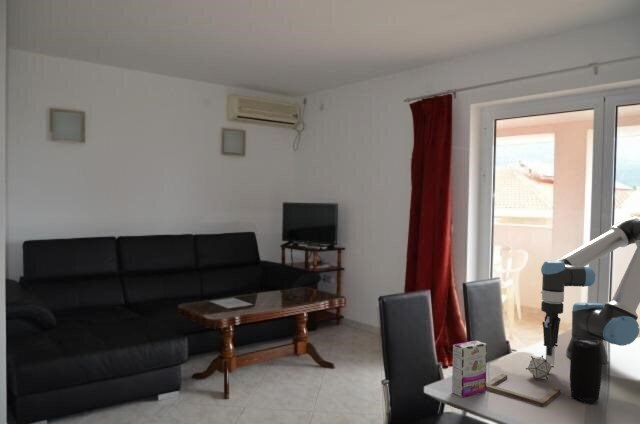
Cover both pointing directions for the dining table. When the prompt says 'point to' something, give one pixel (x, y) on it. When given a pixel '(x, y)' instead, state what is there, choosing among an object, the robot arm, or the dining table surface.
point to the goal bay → (541, 402)
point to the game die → (539, 367)
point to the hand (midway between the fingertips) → (549, 363)
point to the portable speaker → (585, 370)
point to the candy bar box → (469, 368)
